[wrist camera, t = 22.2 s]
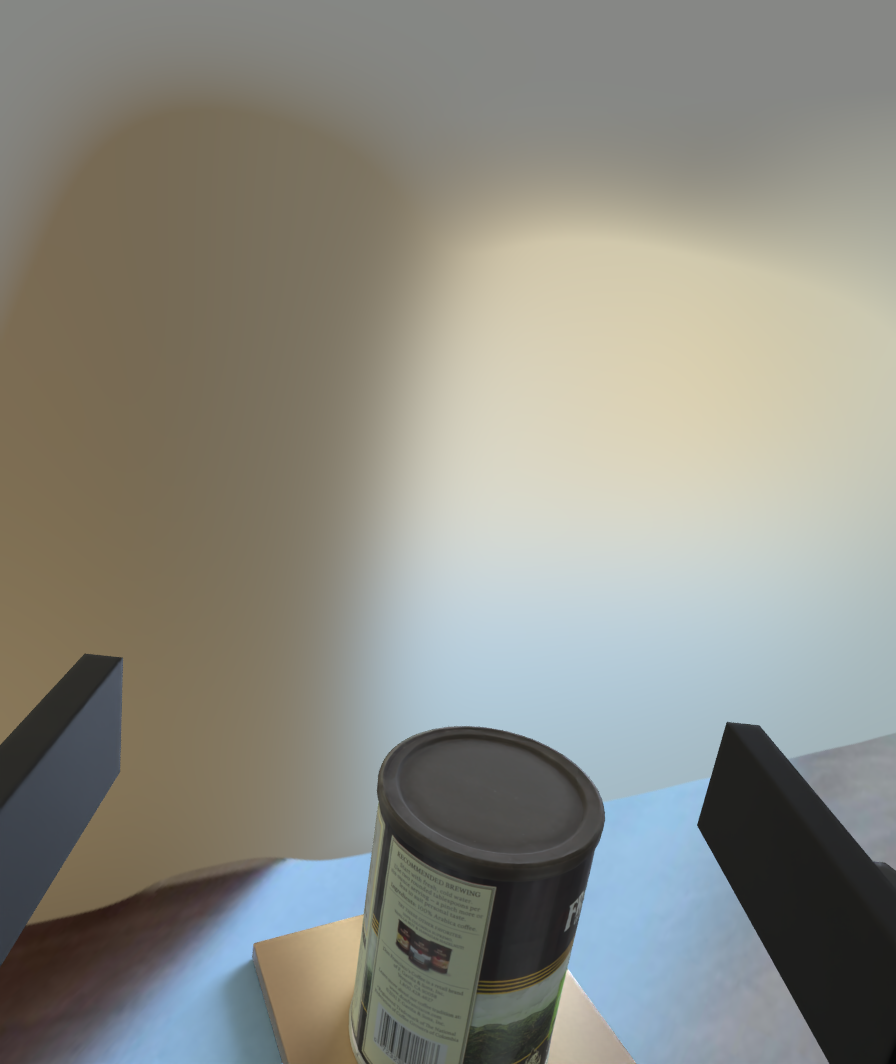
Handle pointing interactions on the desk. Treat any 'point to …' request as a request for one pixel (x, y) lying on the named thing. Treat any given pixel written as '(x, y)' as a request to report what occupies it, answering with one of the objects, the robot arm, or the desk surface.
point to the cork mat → (328, 986)
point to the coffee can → (471, 899)
